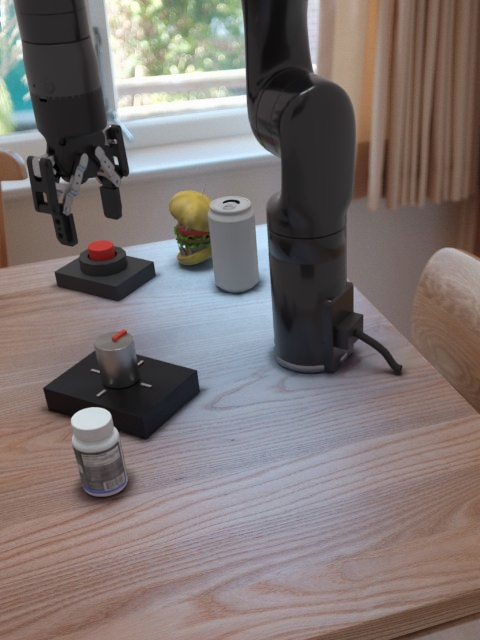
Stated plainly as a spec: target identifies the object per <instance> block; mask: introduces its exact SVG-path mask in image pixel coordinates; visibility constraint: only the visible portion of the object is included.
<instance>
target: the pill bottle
mask: <svg viewBox="0 0 480 640" xmlns="http://www.w3.org/2000/svg"><path fill="white" fill-rule="evenodd" d="M70 425H71V431H72V434H73V435H72V437H71V446H72V449H73V453H74V456H75V461H76V465H77V470H78V474H79V477H80V481H81V485H82V488H83V490H84V491H85V492H86V494H88V495H90V496H92V497H98V498H99V497H100V498H101V497H110V496H115V495H116V494H118V493H120V492H121V491H123V490H124V489H125V488H126V486H127V485H128V481H129V477H128V471H127V466H126V461H125V456H124V451H123V447H122V442H121V437H120V432H119V431H117V429H116V428H115V427H114V426H113V421H112V416H111V414H110V412H109V411H107V410H106V409H103V408H98V407H91V408H86V409H83V410H80V411H78V412H77V413H75V414H74V415H73V416H72V417H71V418H70Z"/></svg>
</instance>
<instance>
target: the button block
mask: <svg viewBox="0 0 480 640" xmlns="http://www.w3.org/2000/svg"><path fill="white" fill-rule="evenodd" d="M114 251H115V257H114V258H112V259H109V260H106V261H93V260H91V259H90V257H89V252H88V248H87V249H84V250H83V251H82V252H80V253H79V255H78V257H77V258H75V259H73V260H71V261H70V262H68V263H67V264H65V265H63V266H61V267H60V268H58V269H57V270H55V271H54V277H55V281H56V286H57V287H60V288H64V289H68V290H74V291H78V292H81V293H86V294H90V295H93V296H98V297H101V298H106V299H109V300H114V301H118V302H119V301H120V300H122V299H124V298H125V297H126V296H128V295H130V293H132V292H134V291H136V290H137V289H138V288H140V287H141V286H142V285H144V284H145V283H146V282H149V281H150V280H151V279H153V278H154V277H156V275H157V274H156V266H155V262H154V261H153V260H148V259H145V258H139V257H136V256H130V255H127V252H126V250H125V249H123V247H121V246H116V245H114Z"/></svg>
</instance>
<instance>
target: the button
mask: <svg viewBox="0 0 480 640" xmlns="http://www.w3.org/2000/svg"><path fill="white" fill-rule="evenodd" d="M114 246H115V245H114V243H113V242H112V241H111V240H107V239H105V240H104V239H102V240H101V239H100V240H95V241H92V242H90V243H89V244H88V245H87V249H88V252H89V257H90V259H91V260H93V261H106V260H109V259H112V258H114V257H115V251H114Z"/></svg>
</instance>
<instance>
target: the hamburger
mask: <svg viewBox="0 0 480 640" xmlns="http://www.w3.org/2000/svg"><path fill="white" fill-rule="evenodd" d="M206 186H207V184H206V183H205V184H204V185H203V188H202V189H201V190H200V192H199V191H197V190H181V191H179V192H177V193H175V194H174V195H173V196H172V197H171V198H170V200H169V203H168V212H169V213H170V216H172V217H173V220H175V221H177V224H175V226H173V233H174V236H176V237H175V241H176V243H177V246H178V250H179V252H178V253H177V255H176V259H177V261H178V262H179V263H180V264H181V265H183V266H194V265H198V264H200V263H203V262H205V261H206V260H208V259H209V258H212V250H211V240H210V231H209V222H208V212H209V210H210V203H211V202H212V201H213V199H212V198H211V197H209V196H208V195H206V194H204V193H205V190H206Z"/></svg>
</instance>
